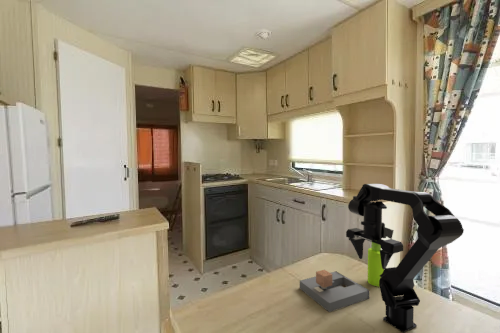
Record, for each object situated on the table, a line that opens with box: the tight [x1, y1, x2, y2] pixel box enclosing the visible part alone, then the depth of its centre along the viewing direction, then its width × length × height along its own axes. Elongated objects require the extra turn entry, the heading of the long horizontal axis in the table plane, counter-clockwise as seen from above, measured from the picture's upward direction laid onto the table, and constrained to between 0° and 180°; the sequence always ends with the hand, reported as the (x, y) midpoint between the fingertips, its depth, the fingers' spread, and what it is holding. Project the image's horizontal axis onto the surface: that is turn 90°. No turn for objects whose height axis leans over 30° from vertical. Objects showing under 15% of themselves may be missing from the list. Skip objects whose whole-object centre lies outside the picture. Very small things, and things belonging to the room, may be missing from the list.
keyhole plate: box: [299, 271, 370, 313], centre depth 90 cm, size 18×16×3 cm
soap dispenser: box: [367, 240, 384, 288], centre depth 97 cm, size 6×7×20 cm
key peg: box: [315, 269, 332, 291], centre depth 88 cm, size 4×4×8 cm
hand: (371, 263), depth 85 cm, fingers open, 9 cm apart
